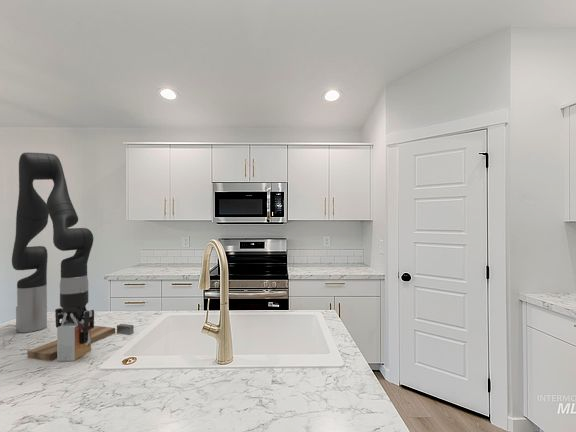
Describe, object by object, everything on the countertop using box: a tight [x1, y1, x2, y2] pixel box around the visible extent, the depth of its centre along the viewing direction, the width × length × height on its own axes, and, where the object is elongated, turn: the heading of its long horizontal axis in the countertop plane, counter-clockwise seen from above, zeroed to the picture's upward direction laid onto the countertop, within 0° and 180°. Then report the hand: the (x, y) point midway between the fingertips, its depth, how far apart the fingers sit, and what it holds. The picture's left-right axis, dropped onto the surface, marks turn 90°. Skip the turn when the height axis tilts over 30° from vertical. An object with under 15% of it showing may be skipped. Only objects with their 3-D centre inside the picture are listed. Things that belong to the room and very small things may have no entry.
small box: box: [56, 320, 92, 362], centre depth 98 cm, size 8×6×10 cm
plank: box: [26, 325, 116, 362], centre depth 107 cm, size 10×24×2 cm, turn 163°
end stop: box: [116, 323, 135, 336], centre depth 117 cm, size 6×2×3 cm, turn 73°
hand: (74, 341), depth 98 cm, fingers open, 7 cm apart
